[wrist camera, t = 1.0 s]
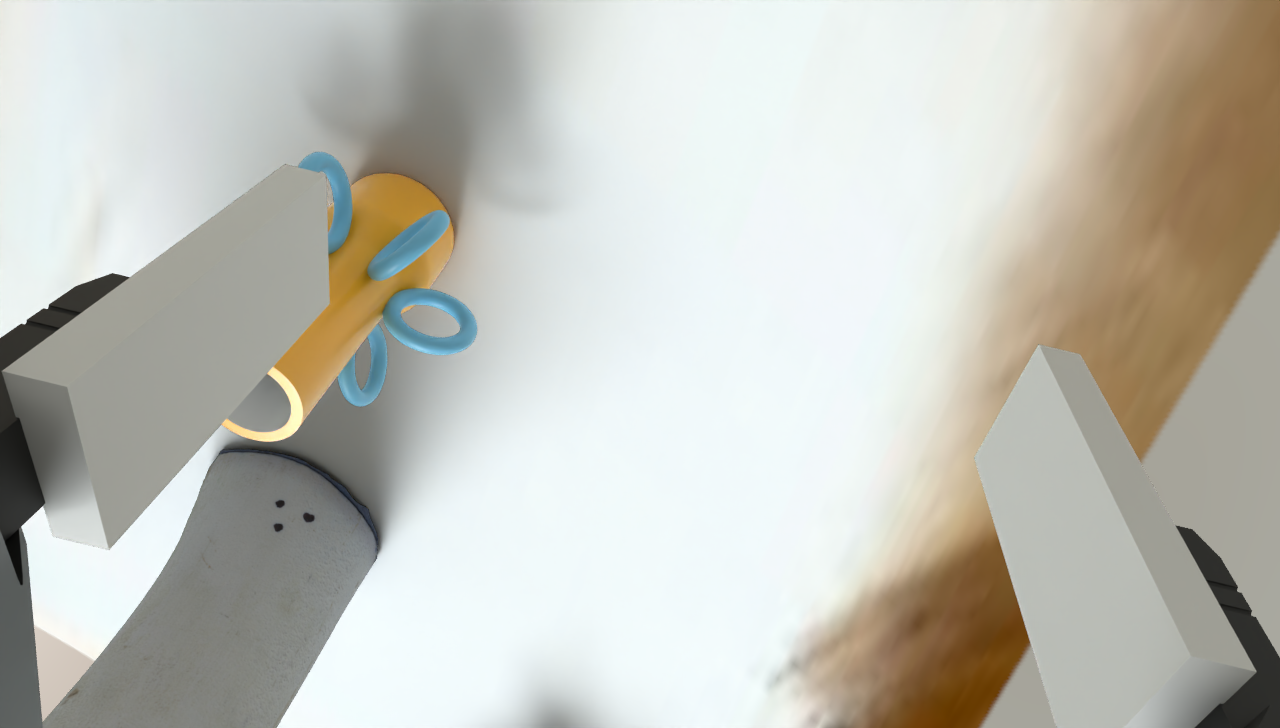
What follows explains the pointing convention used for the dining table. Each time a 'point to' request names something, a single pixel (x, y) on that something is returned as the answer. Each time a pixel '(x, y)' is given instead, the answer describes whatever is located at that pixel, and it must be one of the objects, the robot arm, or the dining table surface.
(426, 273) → the vase
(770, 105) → the dining table surface
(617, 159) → the dining table surface
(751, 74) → the dining table surface
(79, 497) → the robot arm
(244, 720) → the vase
